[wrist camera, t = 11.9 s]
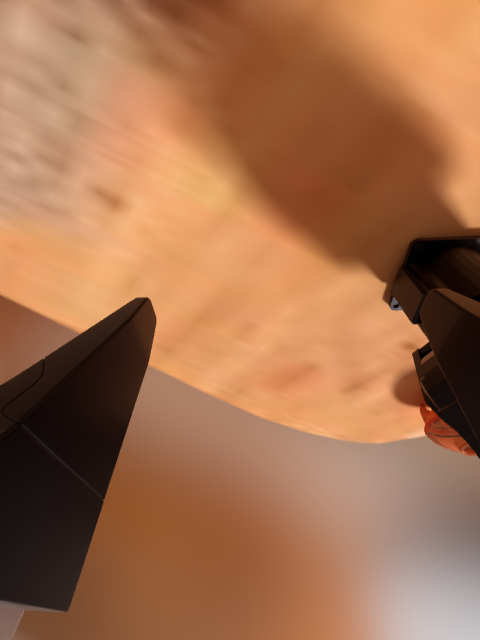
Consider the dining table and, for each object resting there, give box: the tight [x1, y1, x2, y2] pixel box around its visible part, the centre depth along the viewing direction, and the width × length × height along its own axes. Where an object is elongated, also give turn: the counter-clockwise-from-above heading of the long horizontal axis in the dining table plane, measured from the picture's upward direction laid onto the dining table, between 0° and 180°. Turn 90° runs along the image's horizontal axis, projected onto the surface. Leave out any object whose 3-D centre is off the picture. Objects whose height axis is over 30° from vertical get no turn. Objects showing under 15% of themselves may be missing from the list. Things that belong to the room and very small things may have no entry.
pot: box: [420, 405, 477, 456], centre depth 31 cm, size 8×8×7 cm
